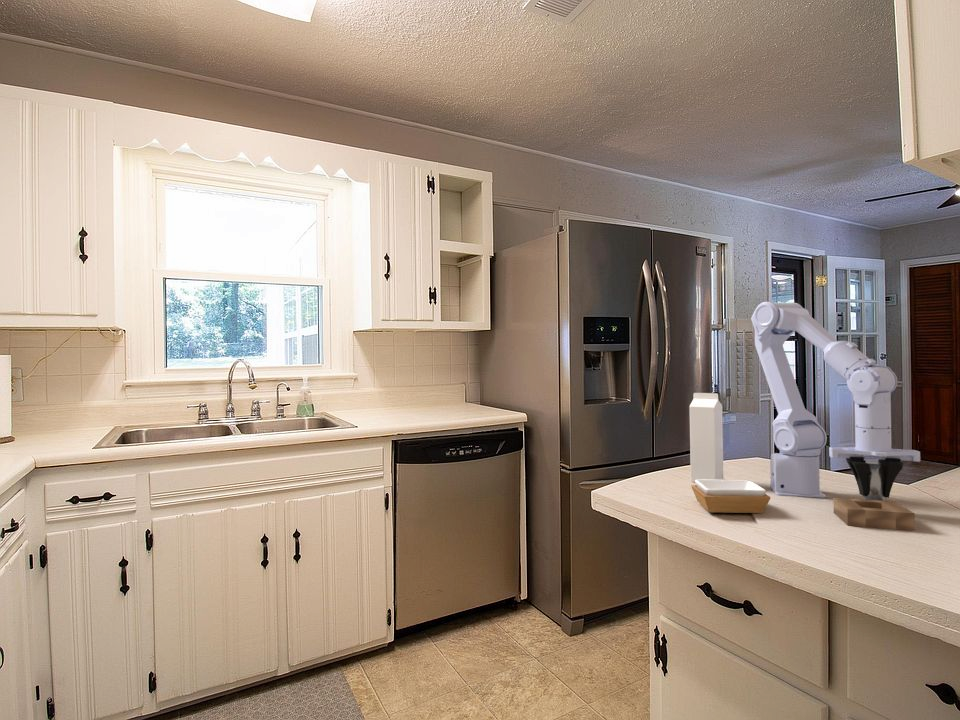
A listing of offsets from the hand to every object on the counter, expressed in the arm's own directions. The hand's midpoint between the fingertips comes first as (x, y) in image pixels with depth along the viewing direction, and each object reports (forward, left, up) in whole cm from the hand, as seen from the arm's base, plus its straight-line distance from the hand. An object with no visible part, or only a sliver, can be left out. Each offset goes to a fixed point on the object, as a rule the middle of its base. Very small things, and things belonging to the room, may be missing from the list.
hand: (874, 495), depth 103 cm
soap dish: (-27, -5, -3) cm, 28 cm away
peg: (0, 0, -3) cm, 3 cm away
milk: (-29, +18, -3) cm, 34 cm away
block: (-3, -8, -3) cm, 9 cm away
